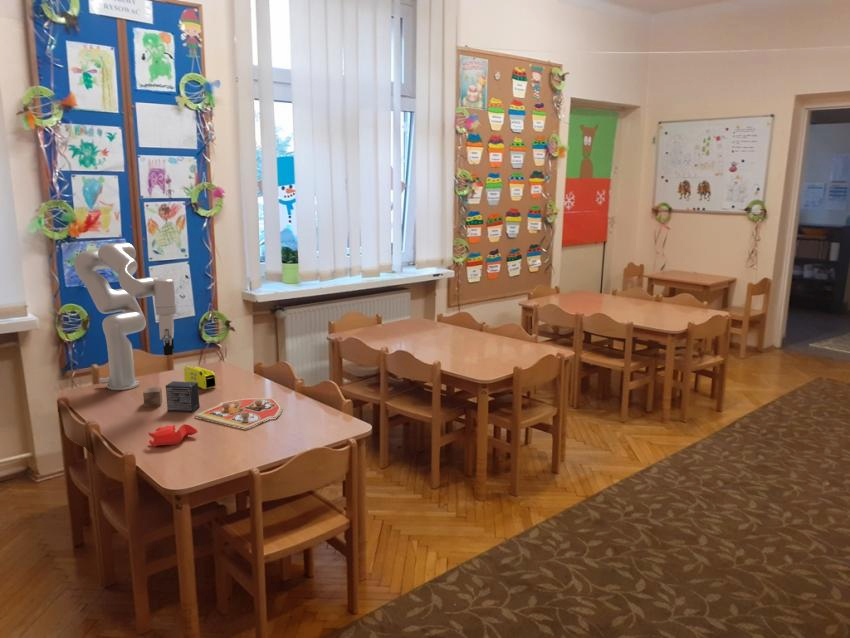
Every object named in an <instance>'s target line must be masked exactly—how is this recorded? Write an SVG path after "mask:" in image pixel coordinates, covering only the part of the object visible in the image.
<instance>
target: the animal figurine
mask: <svg viewBox="0 0 850 638" xmlns="http://www.w3.org/2000/svg"><path fill="white" fill-rule="evenodd" d="M176 427H177V425H176V424H172V425H166V426H162V427H158V428H156V429H155V431H153V432H148V436H149V437H151V438H152V439H153V440H152V439H149V440H148V441H149V444H150V445H151V446H153V448H155V447H159V446H160V447H161V446H170V445H171V446H172V445H178V444H177V443H179V442H180V443H181V442H182V440H183V439H184V438H186V437H185V436H187V437H189V436H188V435H190V436H192V435H195V434H197V433H198V432H199V431H198V429H197V428H195V427H193V426H192V425H189V424H186V423H185V424H182V425H180V426H179V428H178V430H177V431H176ZM183 437H184V438H183ZM180 443H179V444H180Z"/></svg>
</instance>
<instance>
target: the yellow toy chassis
mask: <svg viewBox="0 0 850 638" xmlns="http://www.w3.org/2000/svg"><path fill="white" fill-rule="evenodd" d="M183 373H184V374H183V375H184V382H198V388H202V390H211V389H213V388H214V387H217V383H216V382H217V379H216V374H215V372H214V371H212V370H208V369H206V368H203V367H200V366H194V367H191V366H189V365H185V367H183Z"/></svg>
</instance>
